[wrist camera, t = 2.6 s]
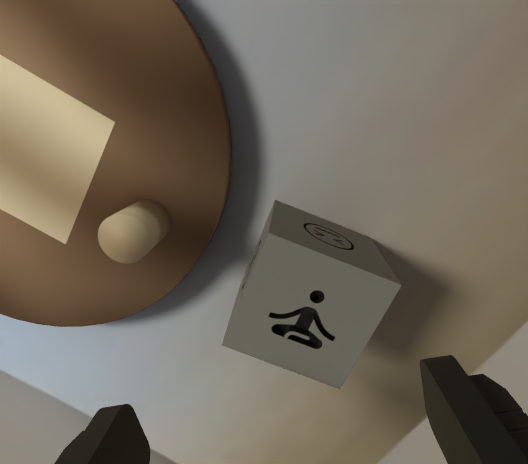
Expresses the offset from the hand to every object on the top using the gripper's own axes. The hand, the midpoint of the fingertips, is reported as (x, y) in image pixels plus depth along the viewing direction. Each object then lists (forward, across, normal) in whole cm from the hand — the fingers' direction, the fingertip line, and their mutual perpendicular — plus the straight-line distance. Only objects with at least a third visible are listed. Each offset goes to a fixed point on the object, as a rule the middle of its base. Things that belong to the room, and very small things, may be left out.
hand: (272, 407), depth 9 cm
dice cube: (+9, -1, 0) cm, 9 cm away
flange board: (+9, +9, -9) cm, 16 cm away
